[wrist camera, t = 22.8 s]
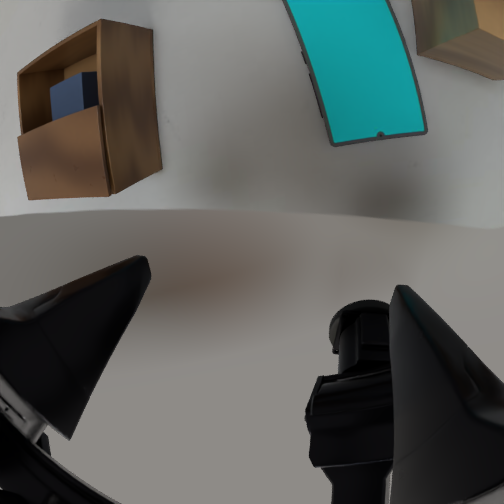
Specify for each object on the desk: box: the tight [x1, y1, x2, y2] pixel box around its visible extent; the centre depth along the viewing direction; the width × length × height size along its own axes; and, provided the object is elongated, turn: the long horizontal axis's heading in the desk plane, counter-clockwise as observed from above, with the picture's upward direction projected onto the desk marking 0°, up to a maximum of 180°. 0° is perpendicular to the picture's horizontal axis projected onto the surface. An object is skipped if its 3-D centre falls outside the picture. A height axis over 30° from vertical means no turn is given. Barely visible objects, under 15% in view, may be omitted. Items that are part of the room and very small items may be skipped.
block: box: [50, 71, 99, 121], centre depth 18 cm, size 4×4×4 cm
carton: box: [17, 19, 162, 194], centre depth 18 cm, size 13×12×6 cm
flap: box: [17, 105, 111, 200], centre depth 16 cm, size 6×12×1 cm, turn 92°
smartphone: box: [282, 0, 428, 147], centre depth 13 cm, size 7×1×15 cm
